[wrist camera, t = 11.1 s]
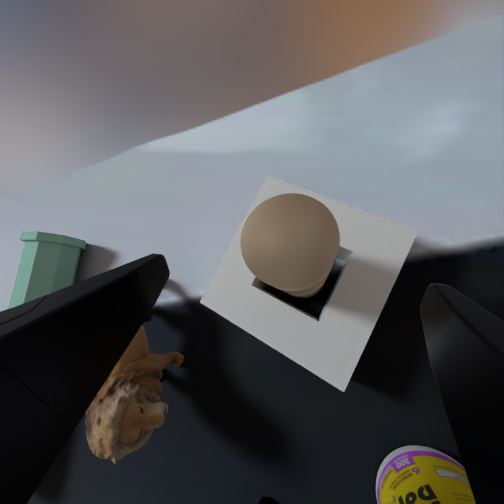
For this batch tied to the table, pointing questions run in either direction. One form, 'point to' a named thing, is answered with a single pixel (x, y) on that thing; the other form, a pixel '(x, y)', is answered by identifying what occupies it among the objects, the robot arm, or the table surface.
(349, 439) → the table surface
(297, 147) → the table surface
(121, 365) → the lion figurine
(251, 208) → the socket
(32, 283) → the container
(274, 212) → the peg
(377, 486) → the supplement bottle
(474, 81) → the table surface
